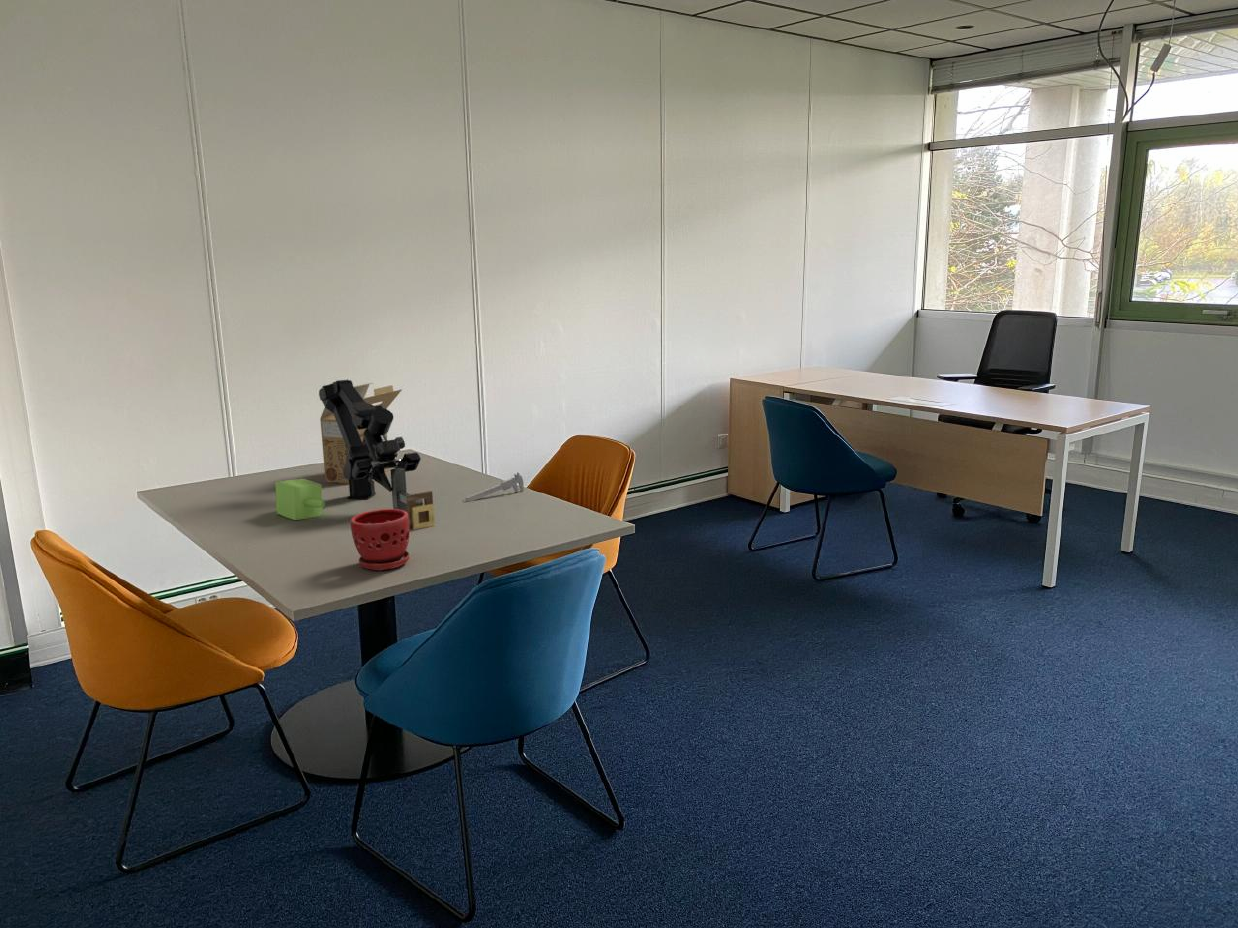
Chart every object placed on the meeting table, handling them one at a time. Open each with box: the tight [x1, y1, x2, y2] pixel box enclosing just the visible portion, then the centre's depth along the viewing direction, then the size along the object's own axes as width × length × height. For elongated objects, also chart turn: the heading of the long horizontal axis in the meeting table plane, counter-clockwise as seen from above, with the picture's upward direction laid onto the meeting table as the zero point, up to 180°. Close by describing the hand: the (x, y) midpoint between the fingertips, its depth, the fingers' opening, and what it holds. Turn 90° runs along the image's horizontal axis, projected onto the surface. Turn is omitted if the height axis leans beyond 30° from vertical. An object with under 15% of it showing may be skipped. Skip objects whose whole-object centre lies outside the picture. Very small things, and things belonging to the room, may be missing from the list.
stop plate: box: [406, 490, 434, 530], centre depth 249 cm, size 4×7×9 cm, turn 127°
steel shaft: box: [389, 468, 424, 512], centre depth 254 cm, size 14×3×13 cm, turn 37°
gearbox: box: [275, 478, 326, 521], centre depth 261 cm, size 18×10×10 cm, turn 47°
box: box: [319, 382, 403, 485], centre depth 304 cm, size 21×20×30 cm
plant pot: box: [350, 508, 411, 571], centre depth 217 cm, size 13×13×12 cm
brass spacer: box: [411, 503, 436, 531], centre depth 248 cm, size 1×6×6 cm, turn 127°
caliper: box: [462, 472, 525, 503], centre depth 279 cm, size 20×1×6 cm, turn 127°
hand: (396, 490), depth 259 cm, fingers closed on steel shaft, 3 cm apart
